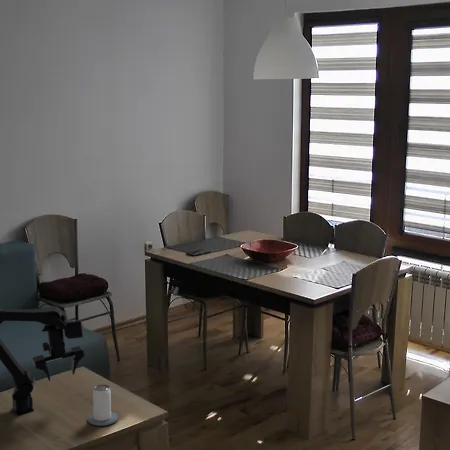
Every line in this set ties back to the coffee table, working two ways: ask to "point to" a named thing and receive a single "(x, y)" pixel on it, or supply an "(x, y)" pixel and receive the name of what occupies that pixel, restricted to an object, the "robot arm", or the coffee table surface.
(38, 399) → the coffee table surface
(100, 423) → the dish
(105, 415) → the can
